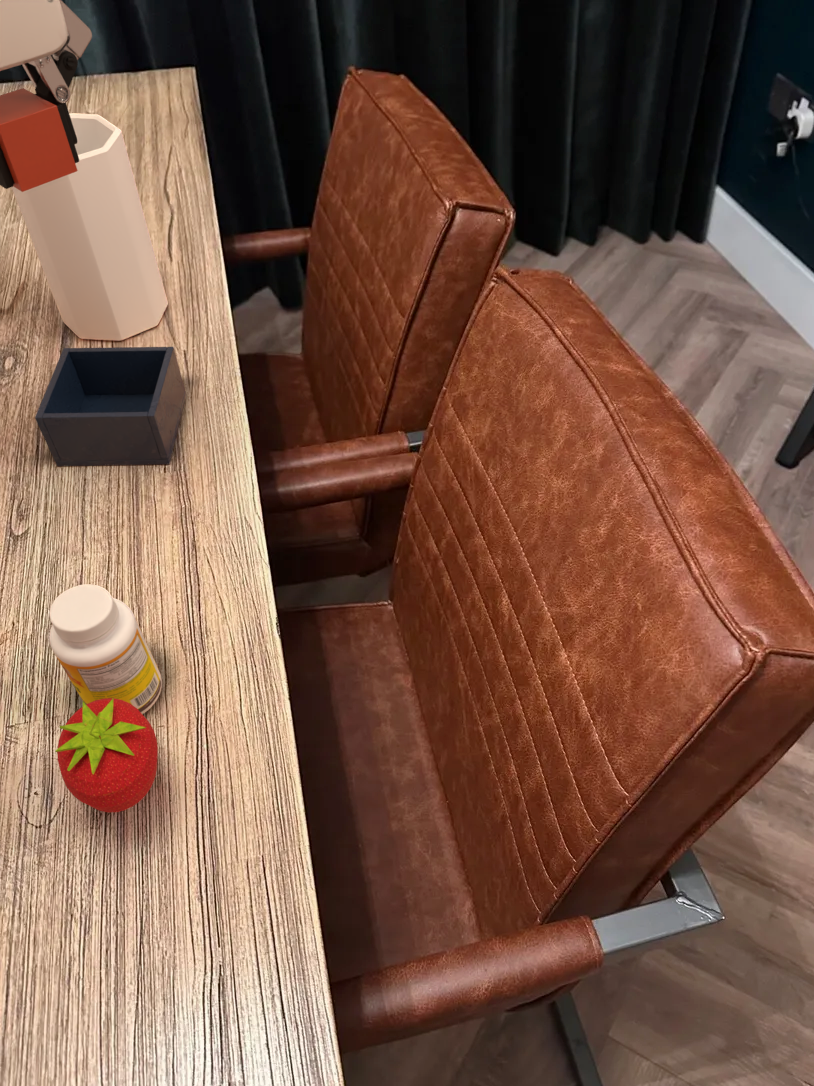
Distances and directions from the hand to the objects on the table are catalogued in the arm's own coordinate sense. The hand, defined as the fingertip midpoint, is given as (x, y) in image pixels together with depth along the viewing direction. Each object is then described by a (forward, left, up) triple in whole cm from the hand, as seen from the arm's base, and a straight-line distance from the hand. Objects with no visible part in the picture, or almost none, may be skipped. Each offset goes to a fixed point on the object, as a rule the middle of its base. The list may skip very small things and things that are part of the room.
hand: (32, 166), depth 64 cm
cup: (-5, +20, -25) cm, 32 cm away
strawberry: (+8, -38, -25) cm, 46 cm away
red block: (0, 0, 0) cm, 0 cm away
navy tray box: (0, 0, -24) cm, 24 cm away
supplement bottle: (+6, -30, -25) cm, 39 cm away
